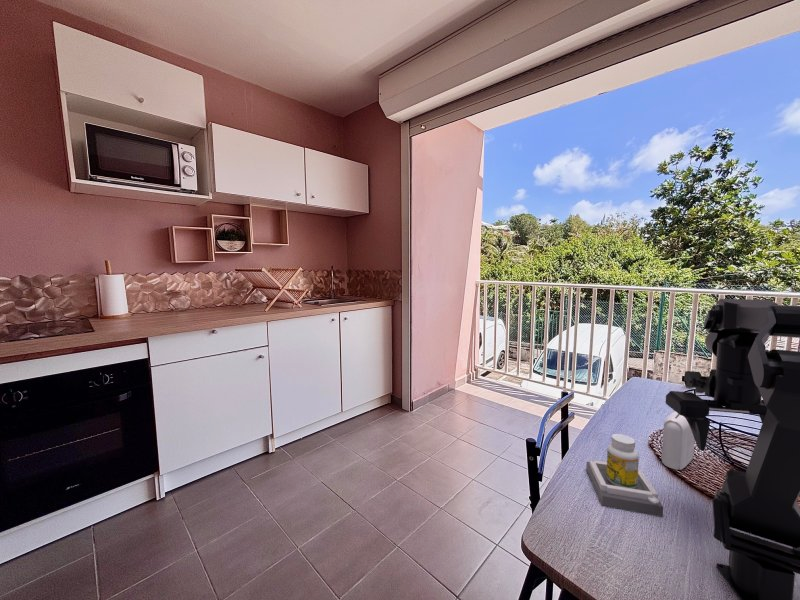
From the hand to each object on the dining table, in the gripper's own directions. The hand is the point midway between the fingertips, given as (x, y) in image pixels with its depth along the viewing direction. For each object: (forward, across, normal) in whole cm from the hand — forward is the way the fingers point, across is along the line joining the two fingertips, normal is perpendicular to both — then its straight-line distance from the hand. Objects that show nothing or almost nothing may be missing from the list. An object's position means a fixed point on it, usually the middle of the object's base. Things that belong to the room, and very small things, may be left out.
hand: (731, 453), depth 57 cm
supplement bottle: (+11, +16, -4) cm, 20 cm away
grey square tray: (+13, +16, -4) cm, 21 cm away
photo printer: (+14, -2, -20) cm, 24 cm away
